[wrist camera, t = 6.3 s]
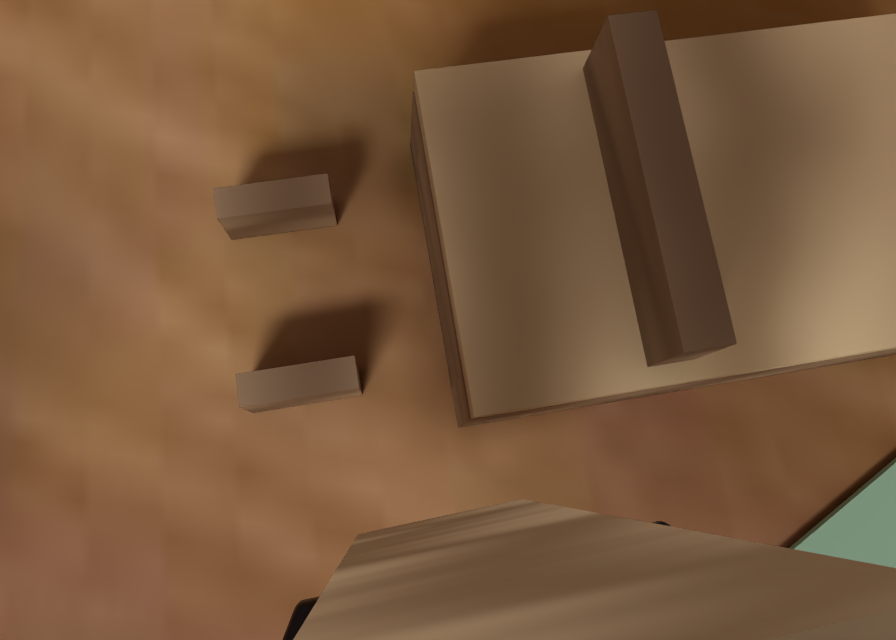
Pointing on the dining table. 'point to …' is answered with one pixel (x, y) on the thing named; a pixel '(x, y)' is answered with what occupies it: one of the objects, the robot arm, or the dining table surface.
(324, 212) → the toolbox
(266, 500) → the dining table surface
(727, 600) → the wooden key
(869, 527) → the felt pad
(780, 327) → the lid
